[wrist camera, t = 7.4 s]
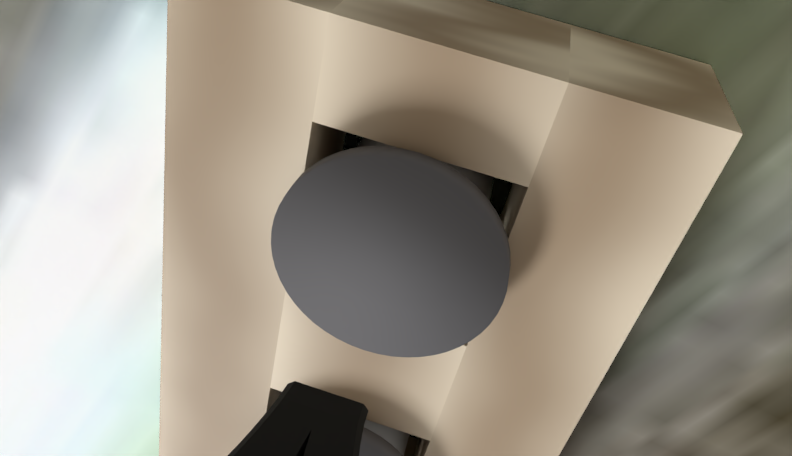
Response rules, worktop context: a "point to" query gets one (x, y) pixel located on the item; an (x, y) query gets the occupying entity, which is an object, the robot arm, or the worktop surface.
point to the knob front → (392, 250)
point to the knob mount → (443, 140)
